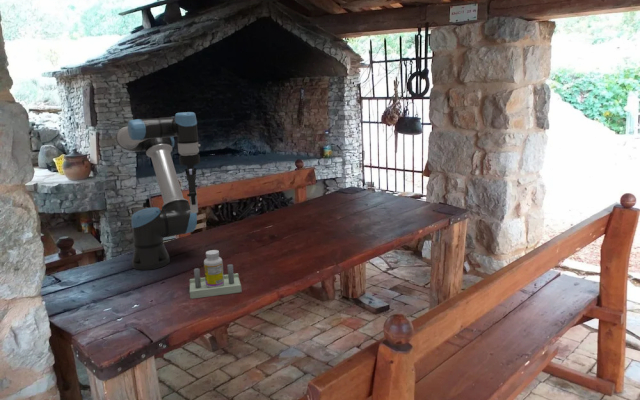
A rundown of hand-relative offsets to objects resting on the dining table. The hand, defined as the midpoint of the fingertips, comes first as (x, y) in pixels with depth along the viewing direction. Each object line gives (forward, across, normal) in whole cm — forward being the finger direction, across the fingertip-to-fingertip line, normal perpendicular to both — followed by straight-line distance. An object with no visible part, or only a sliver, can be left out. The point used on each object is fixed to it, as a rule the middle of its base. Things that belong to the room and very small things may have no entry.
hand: (194, 208), depth 193 cm
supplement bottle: (+25, -18, -5) cm, 32 cm away
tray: (+27, -18, -5) cm, 33 cm away
